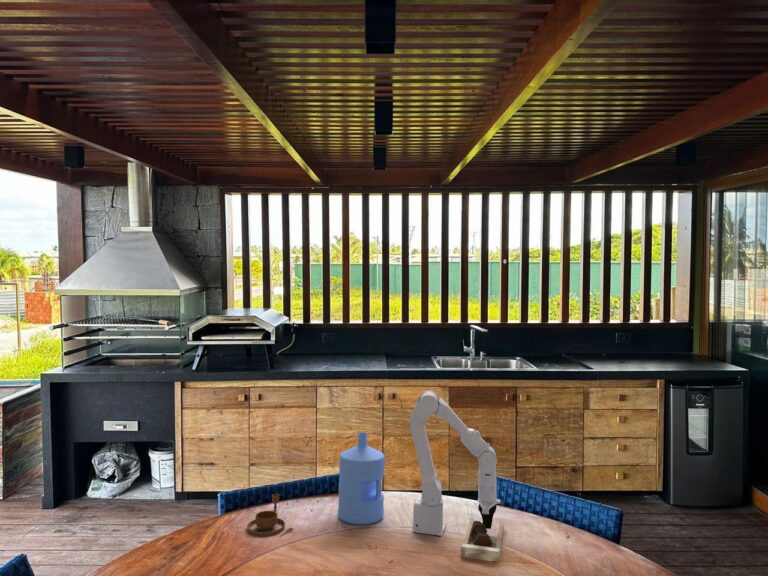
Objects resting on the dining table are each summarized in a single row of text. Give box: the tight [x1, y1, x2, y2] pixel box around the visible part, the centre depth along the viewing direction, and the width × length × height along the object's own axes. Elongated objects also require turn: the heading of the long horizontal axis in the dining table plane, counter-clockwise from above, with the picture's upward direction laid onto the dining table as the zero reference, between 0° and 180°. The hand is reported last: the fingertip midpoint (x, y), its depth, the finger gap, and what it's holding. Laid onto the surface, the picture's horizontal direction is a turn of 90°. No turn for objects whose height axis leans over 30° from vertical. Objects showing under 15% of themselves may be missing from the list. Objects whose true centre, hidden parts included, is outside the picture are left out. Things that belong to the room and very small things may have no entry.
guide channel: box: [460, 517, 505, 563], centre depth 167 cm, size 11×24×3 cm, turn 164°
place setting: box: [246, 493, 294, 538], centre depth 178 cm, size 18×20×6 cm
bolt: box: [471, 520, 494, 548], centre depth 167 cm, size 6×5×15 cm
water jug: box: [337, 432, 386, 526], centre depth 185 cm, size 16×16×28 cm
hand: (487, 528), depth 173 cm, fingers closed, pressing on bolt
